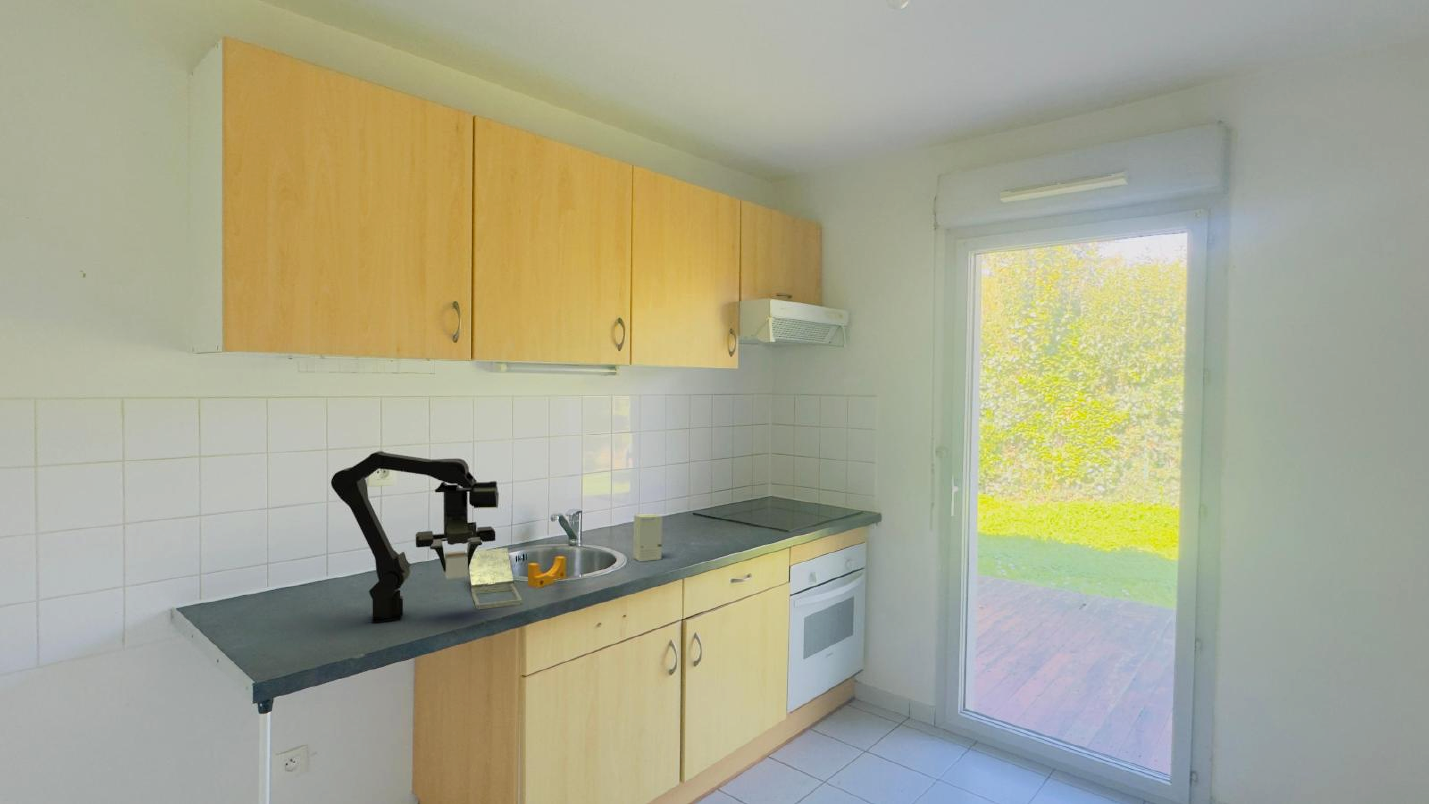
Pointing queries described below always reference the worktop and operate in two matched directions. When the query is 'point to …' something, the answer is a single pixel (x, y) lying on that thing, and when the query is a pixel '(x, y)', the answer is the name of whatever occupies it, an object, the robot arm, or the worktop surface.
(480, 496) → the robot arm
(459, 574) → the block
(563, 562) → the pipe clamp
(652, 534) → the skincare box
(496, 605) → the case
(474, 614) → the worktop surface
